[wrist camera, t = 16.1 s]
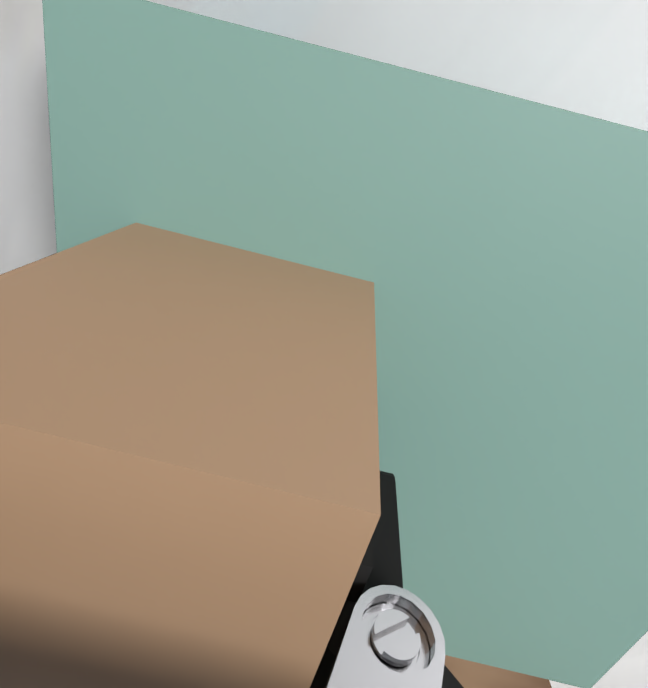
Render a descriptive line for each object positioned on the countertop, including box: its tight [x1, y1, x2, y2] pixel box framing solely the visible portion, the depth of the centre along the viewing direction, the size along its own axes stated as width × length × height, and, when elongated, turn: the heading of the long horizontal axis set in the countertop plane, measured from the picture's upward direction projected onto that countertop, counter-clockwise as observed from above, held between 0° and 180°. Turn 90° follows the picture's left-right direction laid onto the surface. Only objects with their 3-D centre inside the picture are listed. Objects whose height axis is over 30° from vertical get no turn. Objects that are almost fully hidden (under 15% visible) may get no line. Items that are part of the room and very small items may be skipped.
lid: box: [0, 0, 648, 688], centre depth 9 cm, size 17×15×7 cm
